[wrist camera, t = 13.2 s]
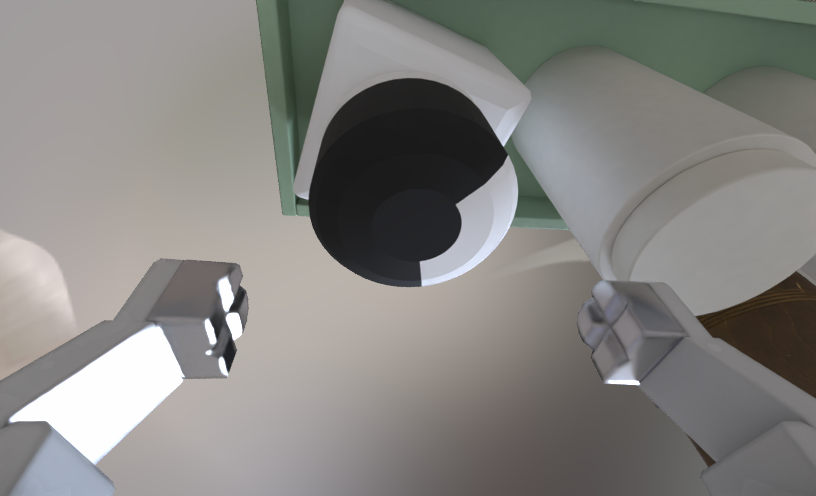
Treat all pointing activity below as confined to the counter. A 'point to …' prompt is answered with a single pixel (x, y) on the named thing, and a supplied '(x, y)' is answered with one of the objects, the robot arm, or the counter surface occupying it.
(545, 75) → the white bottle
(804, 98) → the white bottle
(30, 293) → the counter surface
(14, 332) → the counter surface
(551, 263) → the counter surface
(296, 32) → the tray
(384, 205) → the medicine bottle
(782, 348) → the wooden container
